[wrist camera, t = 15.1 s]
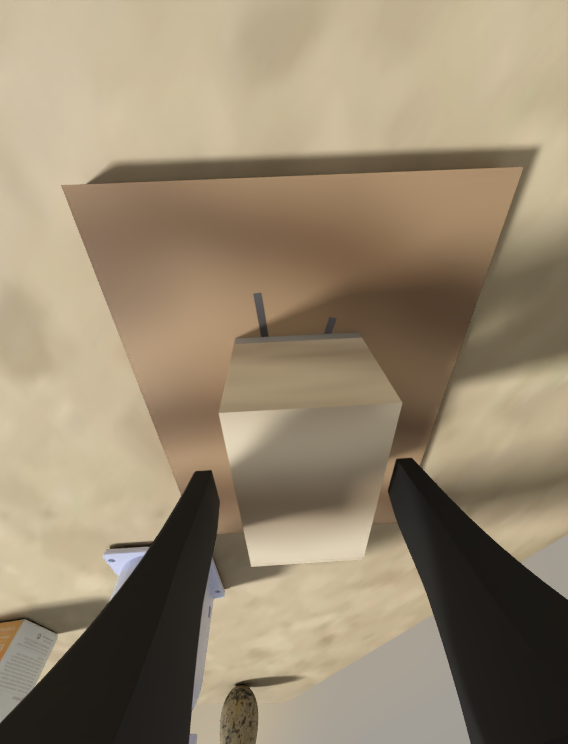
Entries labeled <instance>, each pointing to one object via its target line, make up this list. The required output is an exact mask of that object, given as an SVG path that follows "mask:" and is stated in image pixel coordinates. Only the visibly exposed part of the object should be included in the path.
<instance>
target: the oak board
mask: <svg viewBox="0 0 568 744" xmlns="http://www.w3.org/2000/svg"><path fill="white" fill-rule="evenodd" d="M523 168H524V167H507V168H482V169H457V170H432V171H406V172H381V173H356V174H331V175H306V176H281V177H256V178H231V179H206V180H181V181H156V182H130V183H105V184H80V185H61V186H62V189H63V191H64V194H65V197H66V199H67V202H68V204H69V207H70V209H71V212H72V215H73V217H74V220H75V222H76V225H77V228H78V230H79V233H80V235H81V238H82V240H83V243H84V246H85V248H86V251H87V253H88V256H89V258H90V261H91V264H92V266H93V269H94V271H95V274H96V276H97V279H98V282H99V284H100V287H101V289H102V292H103V295H104V297H105V300H106V302H107V305H108V307H109V310H110V313H111V315H112V318H113V320H114V323H115V325H116V328H117V331H118V333H119V336H120V338H121V341H122V343H123V346H124V349H125V351H126V354H127V356H128V359H129V362H130V364H131V367H132V369H133V372H134V374H135V377H136V380H137V382H138V385H139V387H140V390H141V392H142V395H143V398H144V400H145V403H146V405H147V408H148V410H149V413H150V416H151V418H152V421H153V423H154V426H155V429H156V431H157V434H158V436H159V439H160V441H161V444H162V447H163V449H164V452H165V454H166V457H167V459H168V462H169V465H170V467H171V470H172V472H173V475H174V478H175V480H176V483H177V485H178V488H179V490H180V493H181V496H182V494H183V492H184V490H185V489H186V487H187V485H188V483H189V481H190V479H191V477H192V475H193V473H194V472H195V471H205V470H212V473H213V477H214V481H215V484H216V488H217V492H218V496H219V499H220V508H219V519H218V530H217V534H229V533H244V530H243V526H242V521H241V516H240V512H239V507H238V502H237V497H236V493H235V488H234V483H233V479H232V474H231V469H230V465H229V460H228V455H227V450H226V446H225V441H224V436H223V432H222V427H221V422H220V417H219V409H220V404H221V400H222V395H223V391H224V386H225V382H226V377H227V373H228V368H229V364H230V359H231V355H232V350H233V346H234V341H235V338H254V337H273V336H293V335H312V334H332V333H351V332H359V334H360V335H361V337H362V338H363V340H364V342H365V343H366V345H367V346H368V348H369V350H370V351H371V353H372V354H373V356H374V358H375V359H376V361H377V363H378V364H379V366H380V367H381V369H382V371H383V372H384V374H385V375H386V377H387V379H388V380H389V382H390V383H391V385H392V387H393V388H394V390H395V391H396V393H397V395H398V396H399V398H400V400H401V401H402V407H401V411H400V415H399V419H398V423H397V427H396V431H395V435H394V439H393V443H392V447H391V451H390V455H389V459H388V463H387V467H386V471H385V475H384V479H383V483H382V487H381V491H380V495H379V499H378V503H377V507H376V511H375V515H374V519H373V523H372V524H386V523H397V520H396V518H395V514H394V511H393V508H392V505H391V501H390V498H389V494H388V487H389V484H390V480H391V476H392V473H393V469H394V465H395V461H396V459H399V458H413V459H414V460H415V461H416V463H417V464H418V465H419V466H420V463H421V461H422V458H423V455H424V452H425V449H426V446H427V443H428V440H429V438H430V435H431V432H432V429H433V426H434V423H435V420H436V417H437V415H438V412H439V409H440V406H441V403H442V400H443V397H444V395H445V392H446V389H447V386H448V383H449V380H450V377H451V374H452V372H453V369H454V366H455V363H456V360H457V357H458V354H459V351H460V349H461V346H462V343H463V340H464V337H465V334H466V331H467V328H468V326H469V323H470V320H471V317H472V314H473V311H474V308H475V305H476V303H477V300H478V297H479V294H480V291H481V288H482V285H483V283H484V280H485V277H486V274H487V271H488V268H489V265H490V262H491V260H492V257H493V254H494V251H495V248H496V245H497V242H498V239H499V237H500V234H501V231H502V228H503V225H504V222H505V219H506V216H507V214H508V211H509V208H510V205H511V202H512V199H513V196H514V193H515V191H516V188H517V185H518V182H519V179H520V176H521V173H522V171H523Z"/></svg>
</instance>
